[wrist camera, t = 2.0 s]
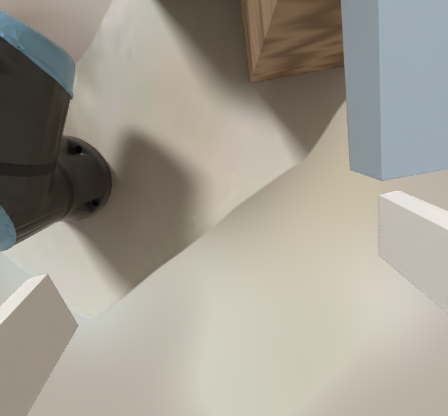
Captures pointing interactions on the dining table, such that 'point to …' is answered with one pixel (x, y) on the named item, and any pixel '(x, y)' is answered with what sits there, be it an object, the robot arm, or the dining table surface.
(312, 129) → the dining table surface
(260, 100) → the dining table surface
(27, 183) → the robot arm
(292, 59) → the walnut stand
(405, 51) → the slate rail
